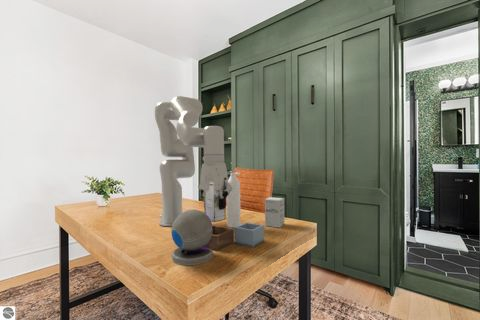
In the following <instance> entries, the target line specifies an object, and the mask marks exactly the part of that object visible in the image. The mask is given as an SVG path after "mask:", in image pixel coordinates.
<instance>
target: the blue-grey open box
mask: <svg viewBox="0 0 480 320" xmlns="http://www.w3.org/2000/svg"><path fill="white" fill-rule="evenodd" d="M263 242H265V224H259V223H258V224H257V223H253V222H252V223H251V222H244V223H241V225H239V226H236V227H235V228H234V244H235V245H240V246H244V247H248V248H251V249H252V248H253V249H254V248H256V247H257V246H258V245H261V243H263Z"/></svg>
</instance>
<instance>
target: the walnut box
mask: <svg viewBox="0 0 480 320" xmlns="http://www.w3.org/2000/svg"><path fill="white" fill-rule="evenodd" d="M212 226H213V232H212V236H211V239H210V241H209V242H208V244H207V245H206V246H205V248H208V249H209V250H212V251H216V252H217V251H220V250H222V249H223V248H226V247H228V246H229V245H232V244H234V243H235V228H231V227H225V226H221V225H215V224H212Z"/></svg>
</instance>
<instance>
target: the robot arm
mask: <svg viewBox="0 0 480 320" xmlns="http://www.w3.org/2000/svg"><path fill="white" fill-rule="evenodd" d="M202 113H203V103H202V102H201V101H200V100H199V99H197V98H193V97H188V96H182V95H180V96H175V97H173V98H172V99H171V102H169V101H162V102H157V104H156V105H155V108H154V118H155V122H156V125H157V129H158V131H159V142H160V151H161V155H162V156H163V157H165V158H175V159H166V160H162V162H161V163H160V164H159V173H160V178H161V209H162V211H161V214H159V215H158V218H160V219H161V220H159V221H158V225H160V226H162V227H172V225H173V223H174V221H175V219H176V218H177V217H178V216H179V215H180V214H181V213H183V190H182V189H183V187H182V184H181V183H180V181H179V180H178V179H189V178H192V177H193V176H194V175H195V172H196V165H195V156H194V155H195V154H194V148H203V157H202V161H203V163H202V164H201V169H200V181H199V184H198V186H197V188H198V189H199V191H200V193H201V195H202V197H203V198H204V190H209V188H210V184H209V183H211V182H213V183H214V187H215V191H218V192H219V195H220V199H219V209H220V210H222V209H225V208H226V209H227V196H228V195H229V193H230V192H231V190H232V189H233V188H232V186H231V185H230V184H229V183H228V179H229V177H228V170H227V166H226V165H227V164H226V163H225V135H224V134H225V133H224V132H225V130H224V128H223V127H222V126H219V125H207V126H205V127H194V126H196V125H197V124H198V122H199V119H200V116H201V115H202ZM170 120H171V121H177V122H176V126H175V125H174V123H173V122H171V121H170ZM176 158H177V159H176ZM178 158H181V159H178ZM224 185H225V188H224ZM222 191H223V193H222Z"/></svg>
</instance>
